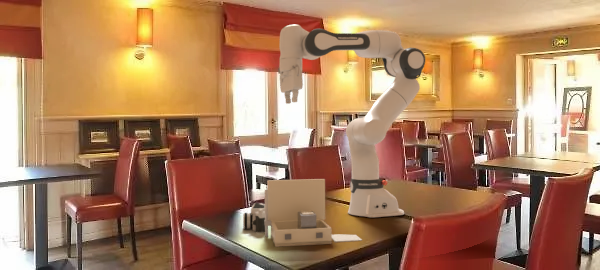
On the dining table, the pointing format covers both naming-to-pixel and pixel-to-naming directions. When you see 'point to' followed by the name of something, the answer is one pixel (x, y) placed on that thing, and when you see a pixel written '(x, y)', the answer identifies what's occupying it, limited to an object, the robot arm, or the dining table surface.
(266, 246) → the dining table surface
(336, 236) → the mat
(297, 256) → the dining table surface
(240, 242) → the dining table surface
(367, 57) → the robot arm
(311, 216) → the block
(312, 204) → the case
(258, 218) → the camera
